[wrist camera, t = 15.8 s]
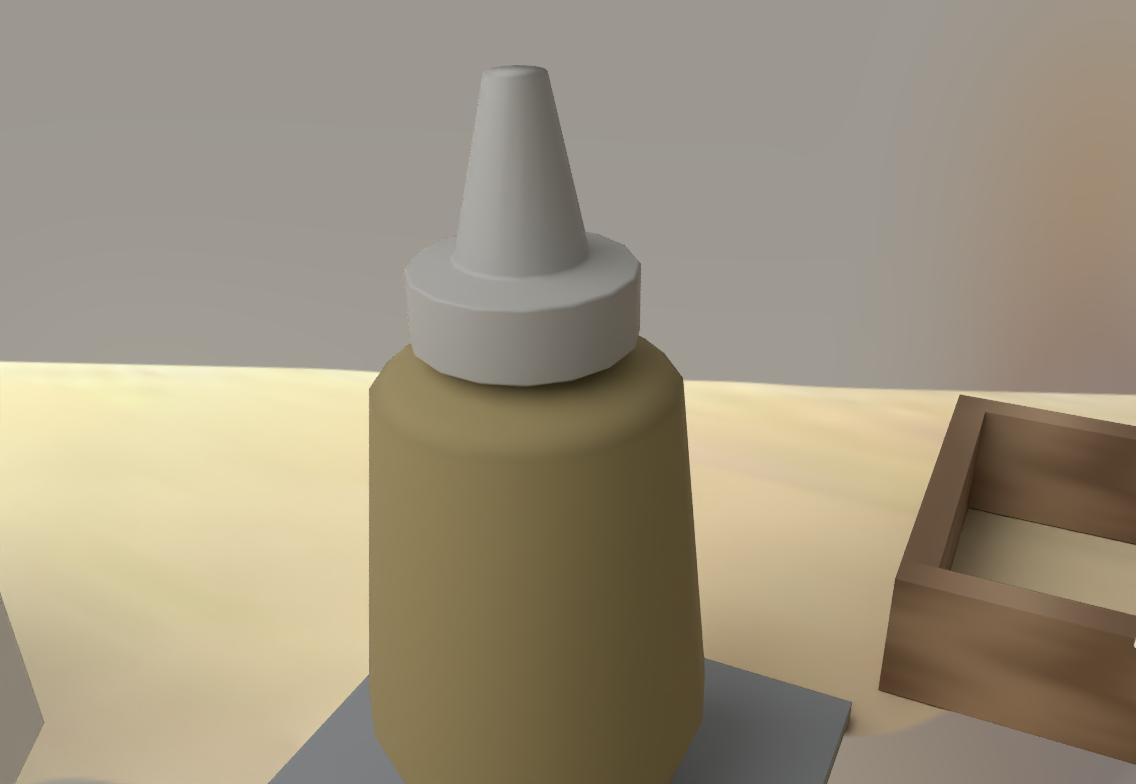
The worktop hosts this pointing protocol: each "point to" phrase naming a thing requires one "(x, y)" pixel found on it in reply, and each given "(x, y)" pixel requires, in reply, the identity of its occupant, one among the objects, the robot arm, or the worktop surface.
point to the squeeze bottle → (530, 492)
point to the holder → (1011, 614)
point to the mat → (707, 771)
